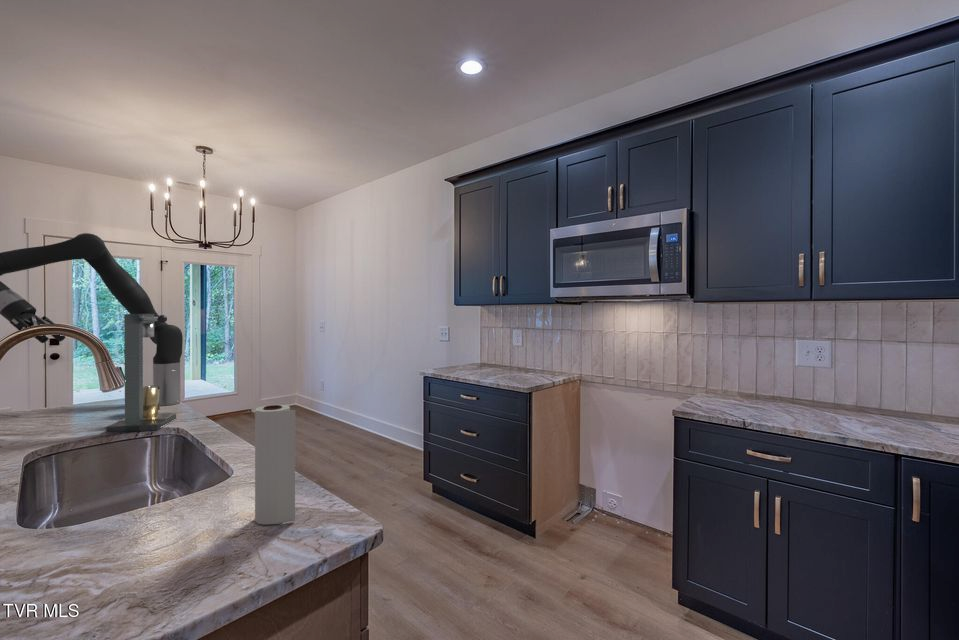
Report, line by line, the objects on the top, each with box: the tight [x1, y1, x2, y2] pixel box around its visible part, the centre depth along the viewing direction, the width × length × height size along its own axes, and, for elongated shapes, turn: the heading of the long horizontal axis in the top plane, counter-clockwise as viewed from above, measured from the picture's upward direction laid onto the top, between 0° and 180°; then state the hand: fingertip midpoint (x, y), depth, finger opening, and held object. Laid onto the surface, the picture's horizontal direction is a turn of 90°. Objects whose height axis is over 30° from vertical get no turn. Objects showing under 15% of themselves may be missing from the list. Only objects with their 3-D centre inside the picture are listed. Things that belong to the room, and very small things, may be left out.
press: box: [105, 313, 177, 433], centre depth 147 cm, size 15×16×38 cm
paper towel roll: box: [254, 404, 296, 526], centre depth 82 cm, size 7×6×21 cm
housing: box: [143, 385, 159, 418], centre depth 150 cm, size 6×6×11 cm
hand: (54, 340), depth 147 cm, fingers open, 8 cm apart
